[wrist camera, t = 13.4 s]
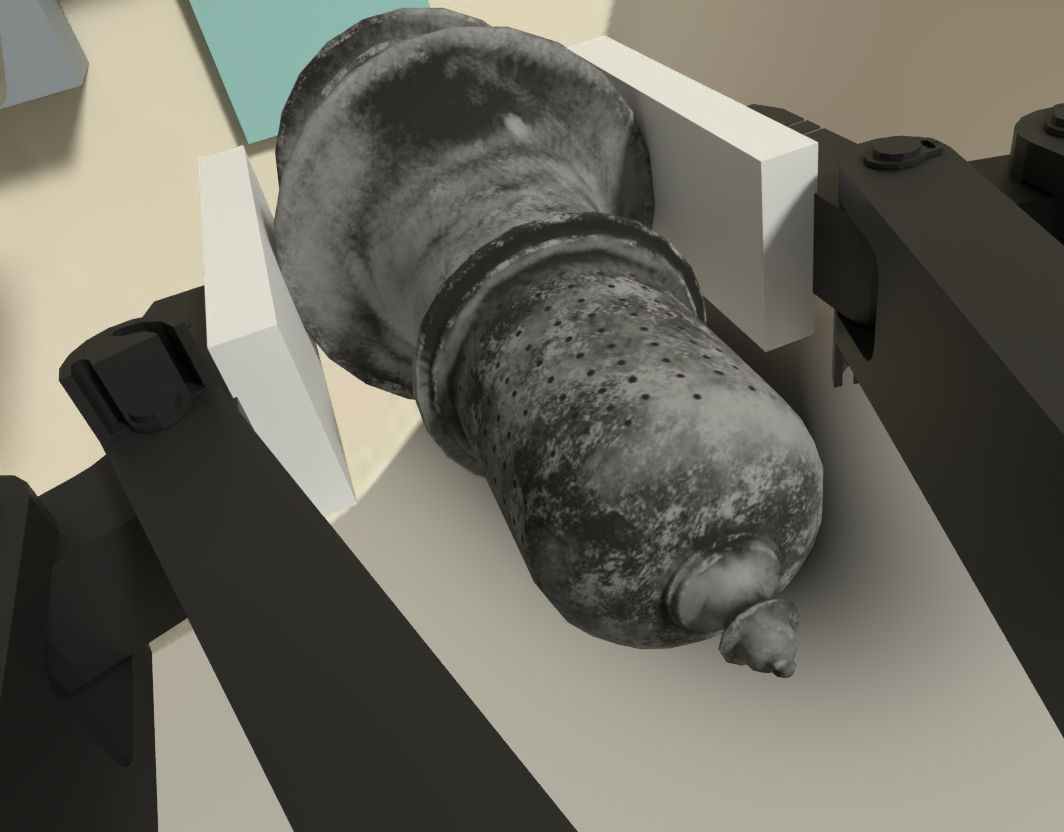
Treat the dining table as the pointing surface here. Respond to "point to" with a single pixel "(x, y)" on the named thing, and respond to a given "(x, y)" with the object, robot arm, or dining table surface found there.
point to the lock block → (38, 50)
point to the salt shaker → (544, 327)
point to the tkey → (2, 78)
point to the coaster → (274, 47)
